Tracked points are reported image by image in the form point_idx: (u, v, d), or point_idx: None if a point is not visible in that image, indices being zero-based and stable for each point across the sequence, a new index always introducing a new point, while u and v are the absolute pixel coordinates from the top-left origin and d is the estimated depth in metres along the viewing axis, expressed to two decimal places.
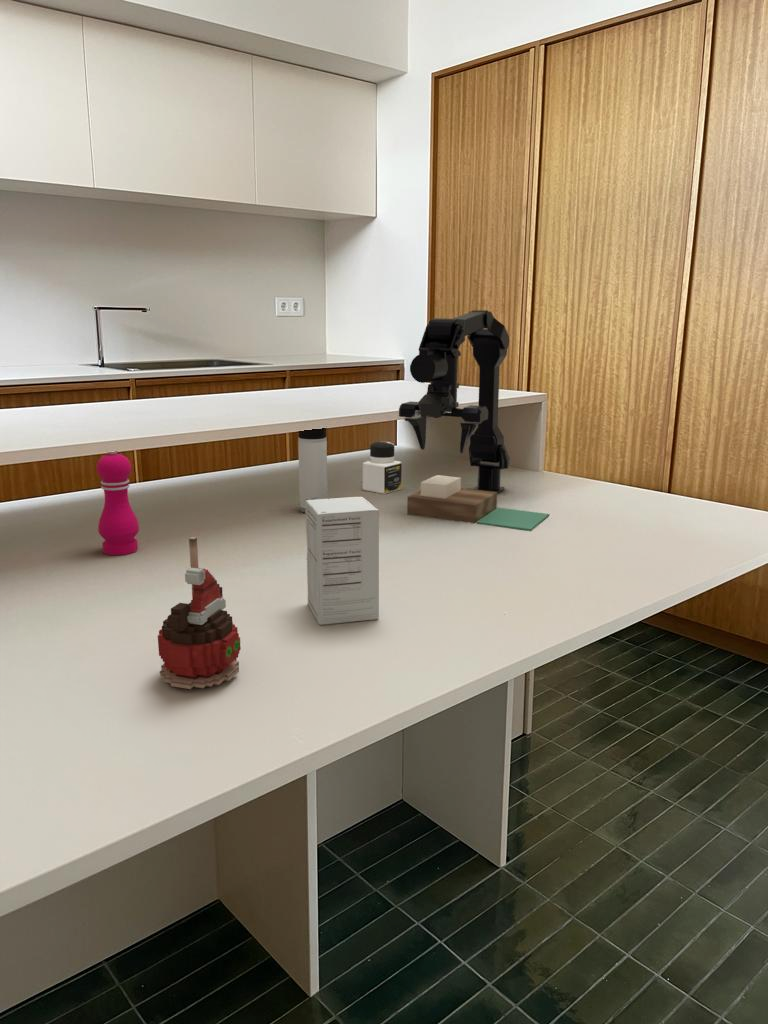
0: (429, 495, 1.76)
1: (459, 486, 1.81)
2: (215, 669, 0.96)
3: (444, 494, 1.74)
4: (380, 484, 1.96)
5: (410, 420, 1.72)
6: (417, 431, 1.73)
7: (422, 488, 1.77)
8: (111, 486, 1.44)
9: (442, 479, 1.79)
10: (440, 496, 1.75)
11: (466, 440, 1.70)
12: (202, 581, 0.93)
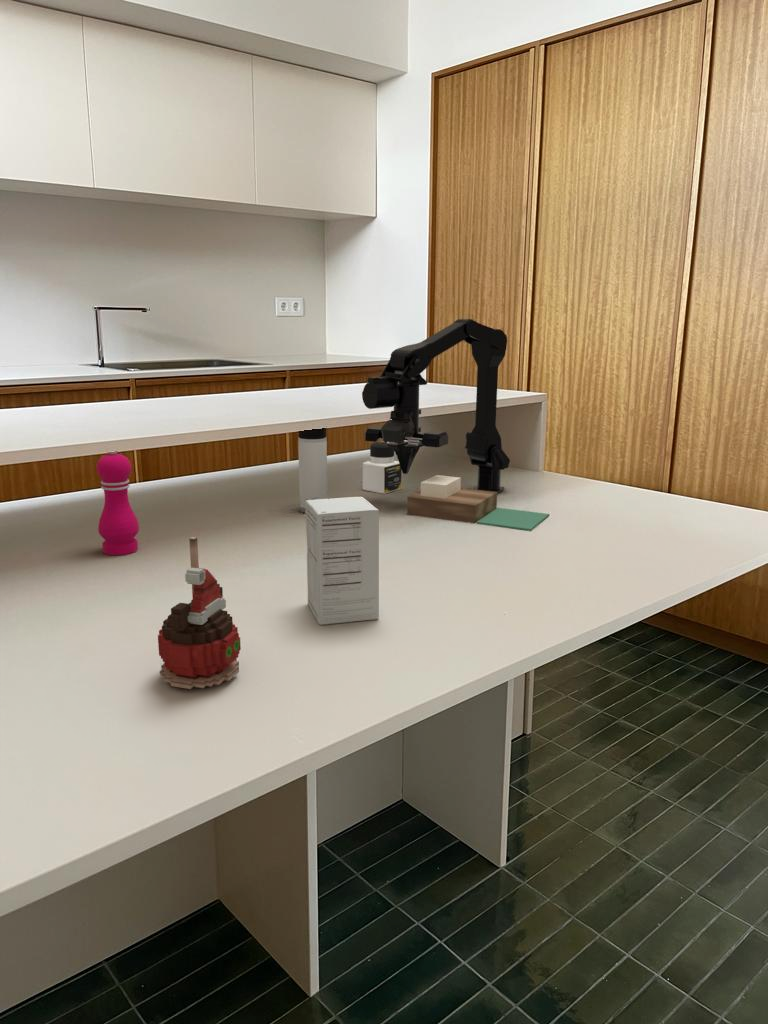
0: (429, 495, 1.76)
1: (459, 486, 1.81)
2: (215, 669, 0.96)
3: (444, 494, 1.74)
4: (380, 484, 1.96)
5: (392, 446, 1.79)
6: (399, 456, 1.81)
7: (422, 488, 1.77)
8: (111, 486, 1.44)
9: (442, 479, 1.79)
10: (440, 496, 1.75)
11: (409, 461, 1.81)
12: (202, 581, 0.93)
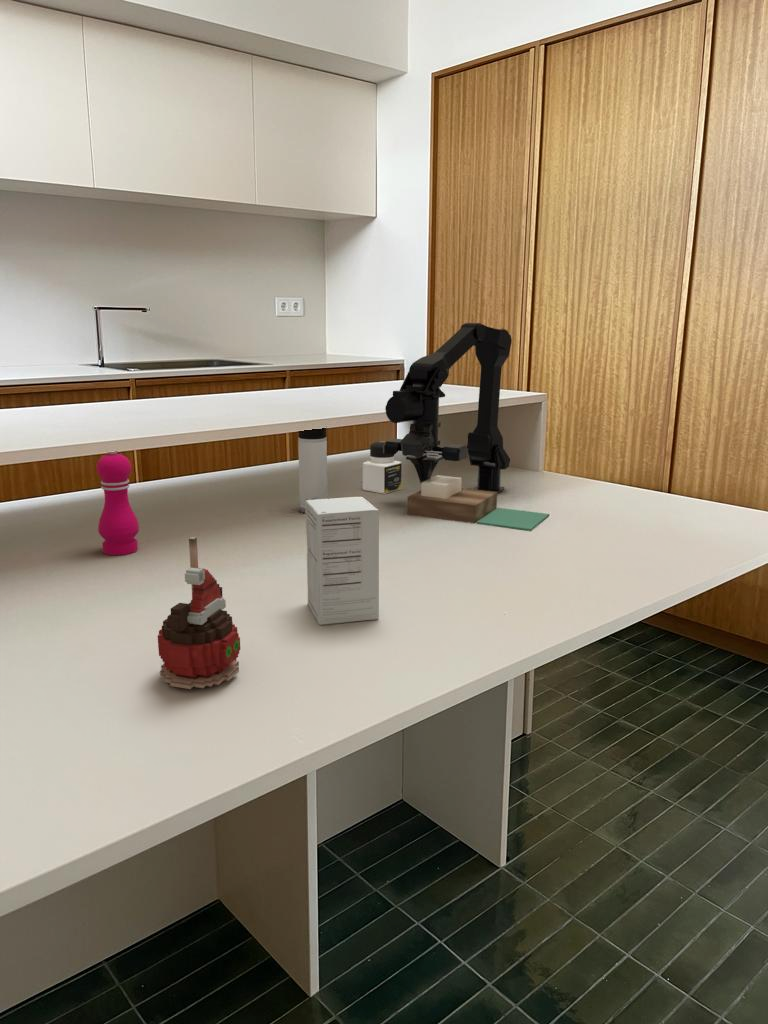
0: (430, 496, 1.76)
1: (460, 486, 1.81)
2: (215, 669, 0.96)
3: (445, 494, 1.74)
4: (380, 484, 1.96)
5: (412, 459, 1.78)
6: (418, 469, 1.80)
7: (423, 488, 1.76)
8: (111, 486, 1.44)
9: (443, 479, 1.79)
10: (441, 496, 1.75)
11: (428, 475, 1.80)
12: (202, 581, 0.93)
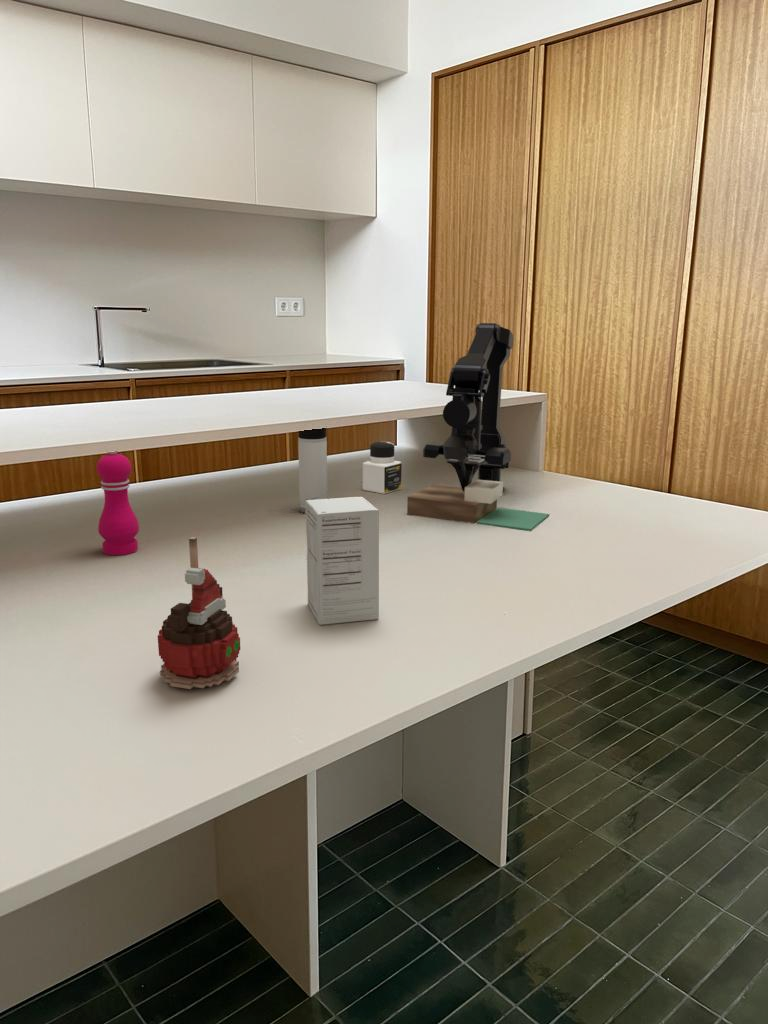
0: (474, 501, 1.72)
1: (501, 490, 1.77)
2: (215, 669, 0.96)
3: (490, 499, 1.70)
4: (380, 484, 1.96)
5: (453, 463, 1.74)
6: (459, 473, 1.75)
7: (466, 493, 1.72)
8: (111, 486, 1.44)
9: (485, 484, 1.75)
10: (485, 501, 1.71)
11: (469, 479, 1.75)
12: (202, 581, 0.93)
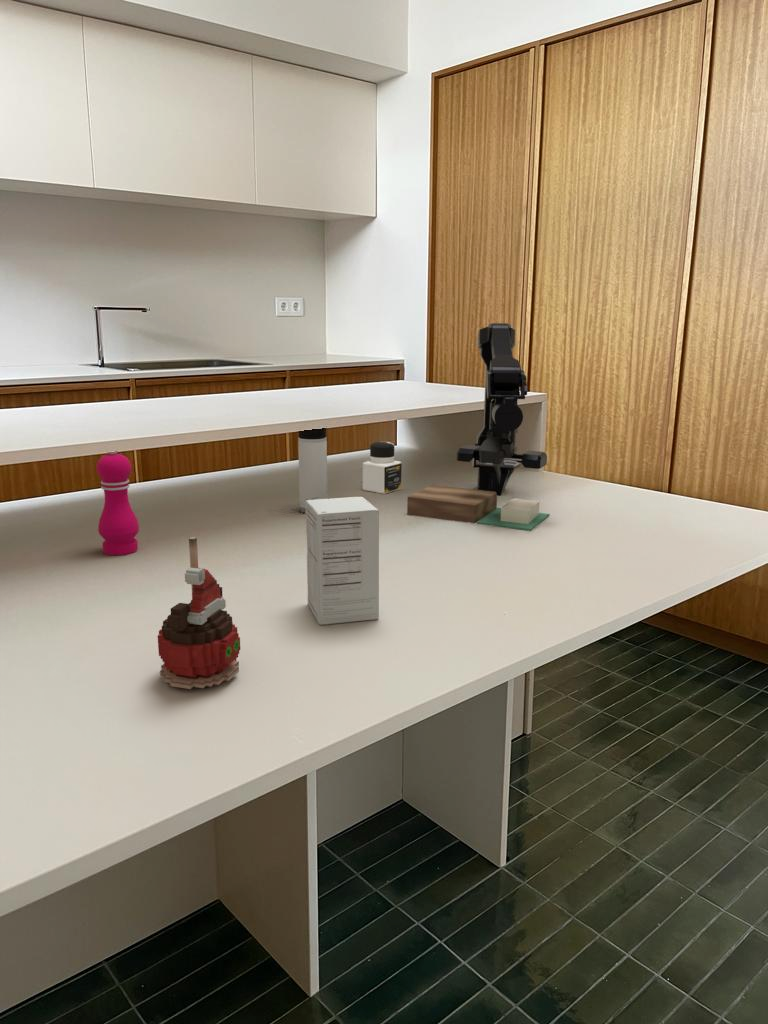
0: (518, 509, 1.68)
1: None
2: (215, 669, 0.96)
3: (501, 511, 1.70)
4: (380, 484, 1.96)
5: (488, 467, 1.70)
6: (494, 477, 1.72)
7: (526, 517, 1.68)
8: (111, 486, 1.44)
9: None
10: (506, 509, 1.69)
11: (504, 483, 1.72)
12: (202, 581, 0.93)
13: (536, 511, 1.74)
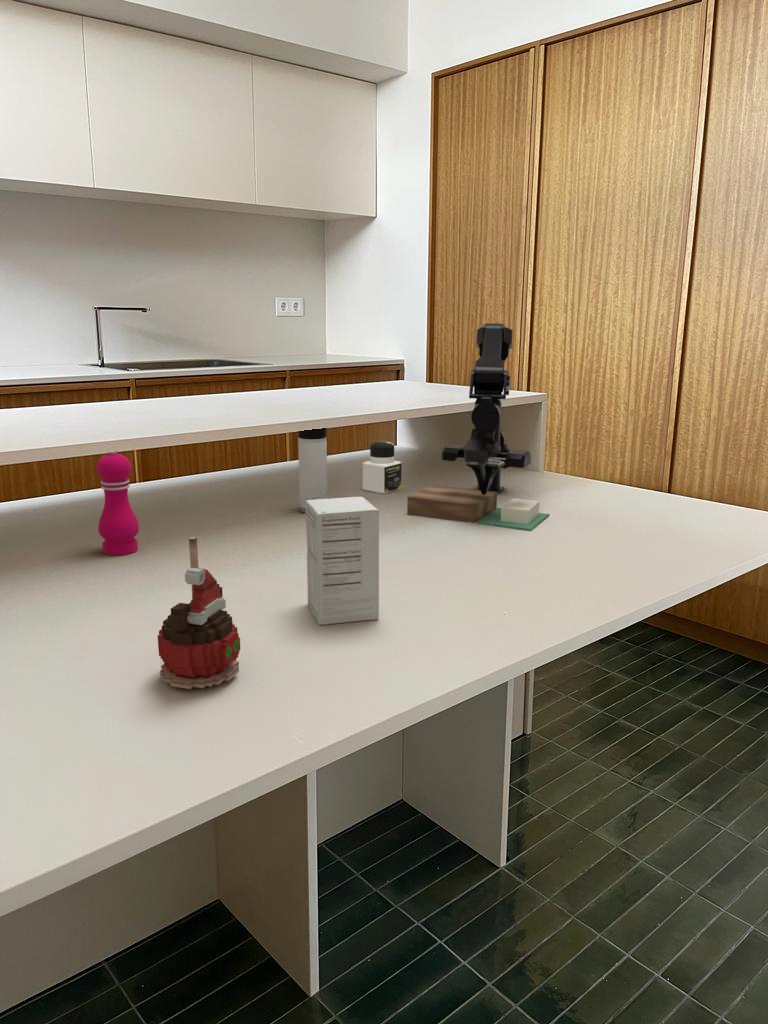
0: (518, 509, 1.68)
1: None
2: (215, 669, 0.96)
3: (501, 511, 1.70)
4: (380, 484, 1.96)
5: (472, 466, 1.72)
6: (479, 476, 1.73)
7: (526, 517, 1.68)
8: (111, 486, 1.44)
9: None
10: (506, 509, 1.69)
11: (489, 482, 1.73)
12: (202, 581, 0.93)
13: (536, 511, 1.74)
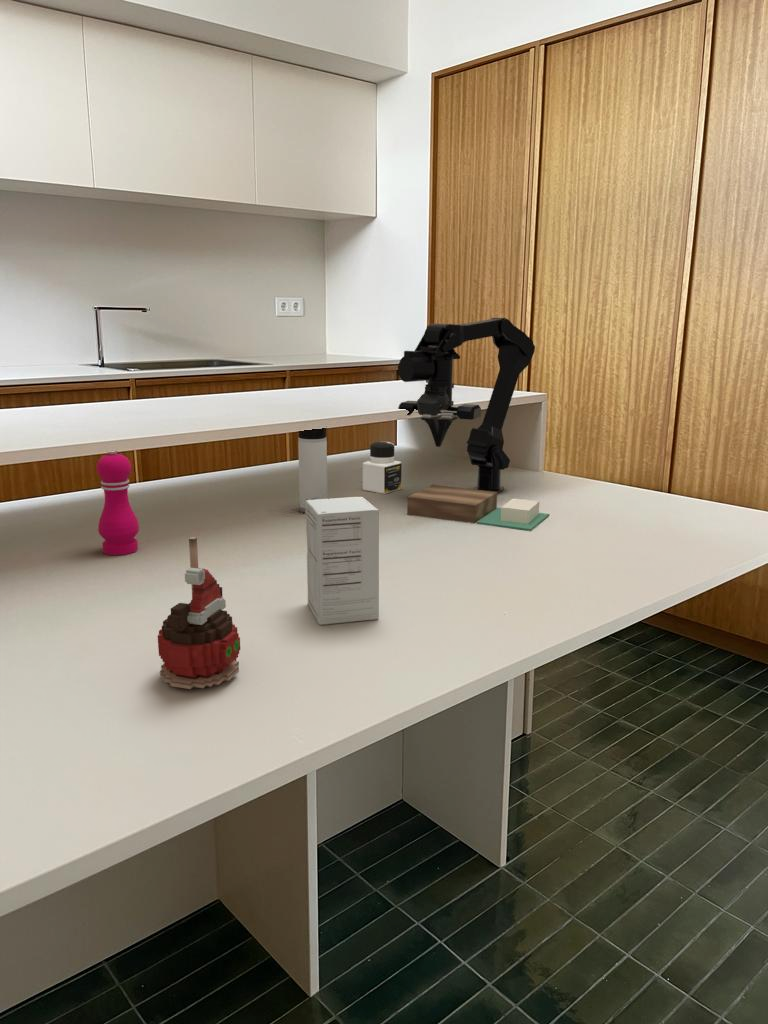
0: (518, 509, 1.68)
1: None
2: (215, 669, 0.96)
3: (501, 511, 1.70)
4: (380, 484, 1.96)
5: (426, 419, 1.83)
6: (433, 429, 1.85)
7: (526, 517, 1.68)
8: (111, 486, 1.44)
9: None
10: (506, 509, 1.69)
11: (442, 434, 1.85)
12: (202, 581, 0.93)
13: (536, 511, 1.74)
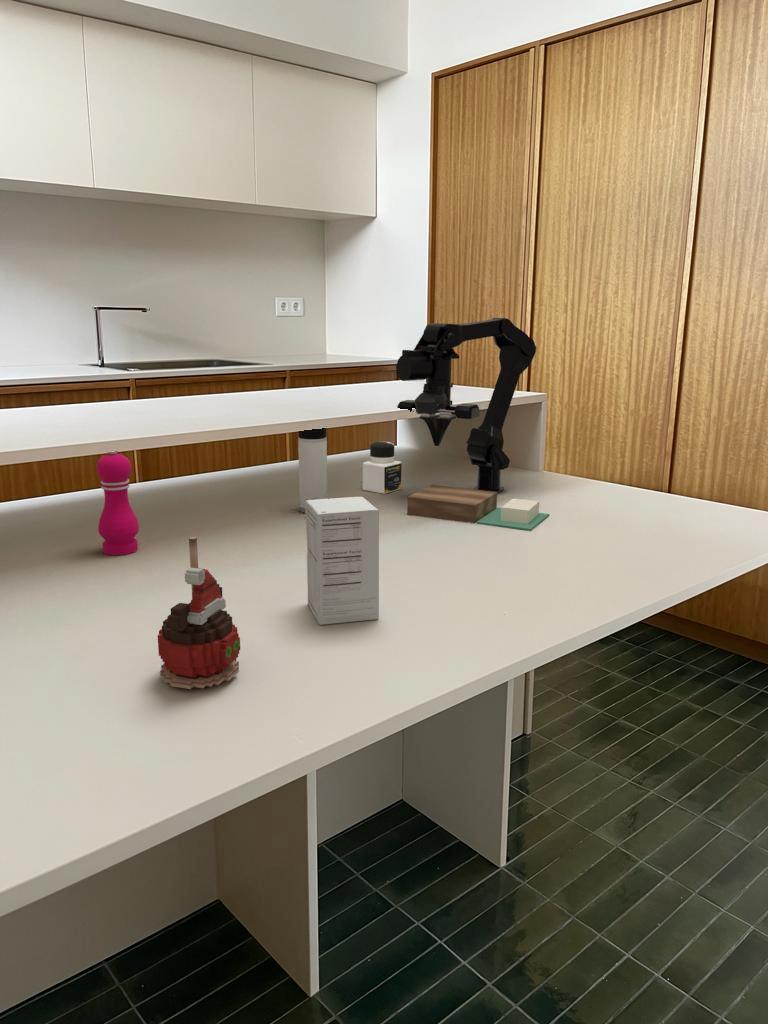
0: (518, 509, 1.68)
1: None
2: (215, 669, 0.96)
3: (501, 511, 1.70)
4: (380, 484, 1.96)
5: (425, 418, 1.84)
6: (431, 428, 1.86)
7: (526, 517, 1.68)
8: (111, 486, 1.44)
9: None
10: (506, 509, 1.69)
11: (441, 434, 1.86)
12: (202, 581, 0.93)
13: (536, 511, 1.74)
